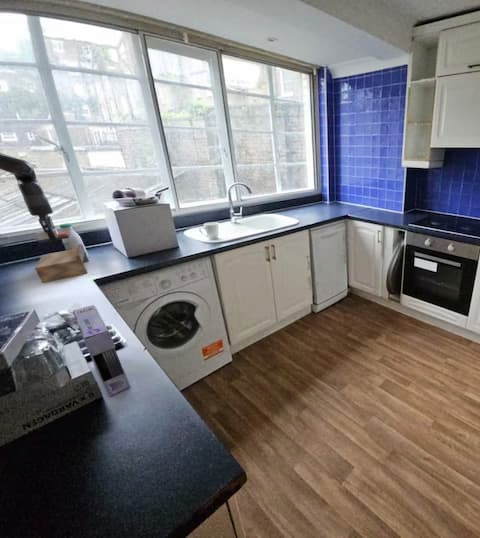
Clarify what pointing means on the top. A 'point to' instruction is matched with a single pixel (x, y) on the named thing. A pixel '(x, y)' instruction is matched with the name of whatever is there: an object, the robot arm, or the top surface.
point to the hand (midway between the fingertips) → (54, 238)
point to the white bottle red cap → (44, 237)
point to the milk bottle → (71, 238)
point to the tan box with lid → (62, 264)
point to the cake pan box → (101, 349)
